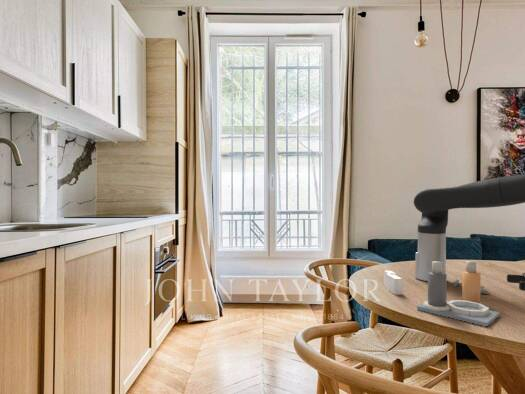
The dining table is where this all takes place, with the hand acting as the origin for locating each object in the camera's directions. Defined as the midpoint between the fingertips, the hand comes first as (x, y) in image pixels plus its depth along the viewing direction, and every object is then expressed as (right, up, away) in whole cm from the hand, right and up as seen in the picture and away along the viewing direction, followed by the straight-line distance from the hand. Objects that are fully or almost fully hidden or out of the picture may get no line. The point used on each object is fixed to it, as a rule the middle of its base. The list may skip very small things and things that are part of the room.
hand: (513, 281), depth 92 cm
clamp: (0, -8, +18) cm, 20 cm away
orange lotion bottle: (-9, -7, +3) cm, 12 cm away
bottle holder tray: (-18, -7, -4) cm, 19 cm away
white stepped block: (-25, -8, +19) cm, 33 cm away
